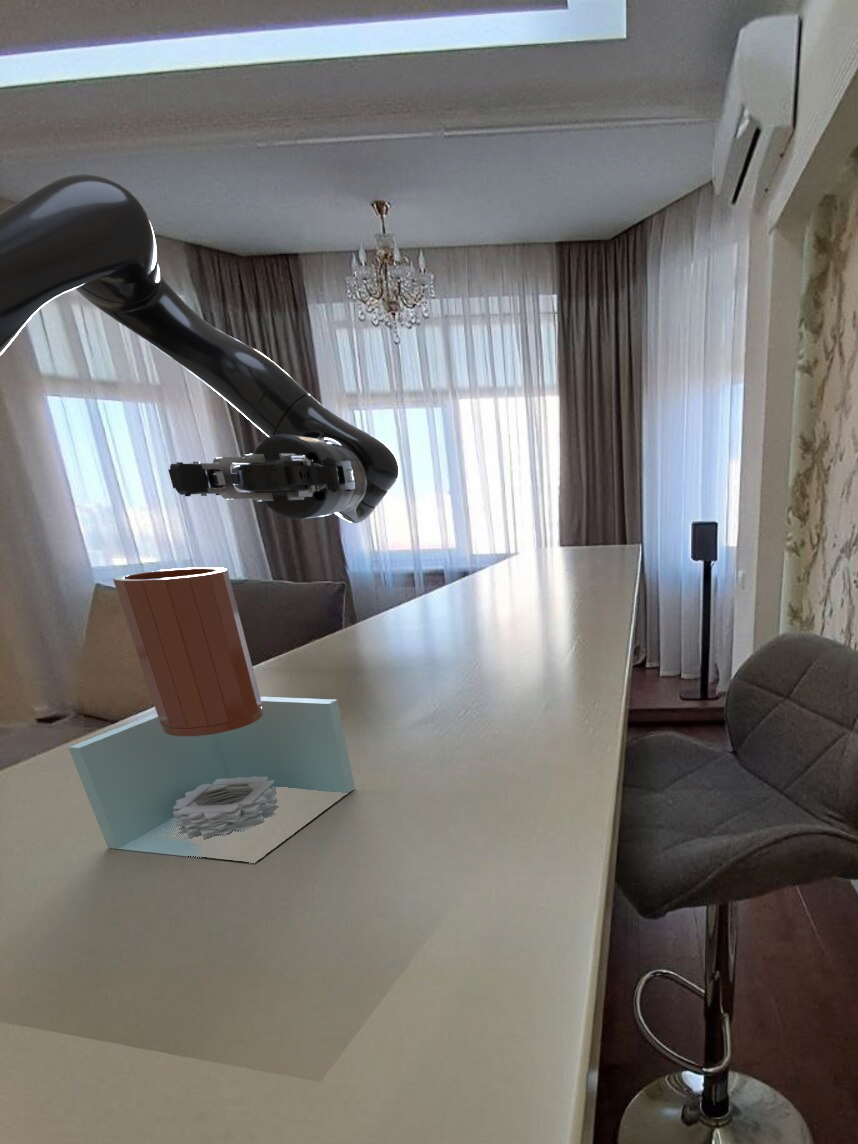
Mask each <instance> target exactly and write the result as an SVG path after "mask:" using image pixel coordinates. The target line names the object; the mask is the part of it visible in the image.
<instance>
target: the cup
mask: <svg viewBox="0 0 858 1144" xmlns="http://www.w3.org/2000/svg"><path fill="white" fill-rule="evenodd" d="M112 580H113V584H114V586H115V590H116V592H117V596H118V599H119V602H120V606H121V608H122V612H123V615H124V618H125V621H126V623H127V626H128V629H129V633H130V636H131V638H132V642H133V645H134V648H135V650H136V654H137V657H138V660H139V664H140V666H141V669H142V673H143V675H144V678H145V682H146V684H147V687H148V691H149V694H150V697H151V700H152V703H153V706H154V709H155V713H157V715H158V718H159V721H160V724H161V727H162V730H163V732H164V733H166V734H169V735H173V736H203V735H211V734H217V733H222V732H227V731H231V730H235V729H238V728H241V727H244V726H247V725H249V724H252V723H254V722H256V721H257V720H259V719H260V718H261V717H262V716H263V709H262V702H261V698H260V696H261V695H260V691H259V688H258V683H257V679H256V676H255V675H256V674H255V671H254V667H253V664H252V663H253V662H252V660H251V655H250V652H249V648H248V645H247V641H246V636H245V632H244V629H243V625H242V621H241V617H240V613H239V610H238V609H239V608H238V605H237V602H236V597H235V593H234V590H233V586H232V582H231V578H230V574H229V570H228V569H227V568H224V567H212V566H211V567H186V568H185V567H184V568H183V567H182V568H171V569H160V570H159V569H158V570H151V571H141V572H135V573H129V574H123V575H119V576H116V577H113V578H112Z"/></svg>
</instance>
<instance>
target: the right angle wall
mask: <svg viewBox="0 0 858 1144" xmlns="http://www.w3.org/2000/svg"><path fill="white" fill-rule="evenodd" d="M260 698H261V702H262V709H263V716H262V717H261V718H260V719H259V720H257V721H256V722H254V723H252V724H249V725H247V726H244V727H241V728H238V729H235V730H231V731H227V732H222V733H217V734H211V735H203V736H173V735H169V734H166V733H164V732H163V730H162V727H161V724H160V721H159V718H158V715H157V712H155V713H153V714H150V715H148V716H145V717H142V718H140V719H137V720H135V721H132V722H130V723H127V724H124V725H122V726H119V727H116V728H114V729H111V730H109V731H106V732H103V733H100V734H98V735H96V736H93V737H91V738H88V739H86V740H83V741H80V742H78V743H75V744H73V745H70V746H68V747H67V748H68V751H69V753H70V755H71V757H72V760H73V763H74V765H75V768H76V771H77V773H78V776H79V778H80V781H81V783H82V786H83V788H84V791H85V794H86V797H87V798H88V801H89V803H90V807H91V809H92V811H93V814H94V815H95V819H96V822H97V824H98V826H99V829H100V832H101V834H102V836H103V839H104V841H105V844H106V847H107V848H108V849H115V850H124V851H132V852H133V851H134V852H143V853H150V854H151V853H152V854H161V855H171V856H179V857H188V856H189V855H190V854H191V853H192V852H193V853H194V852H195V853H194V854H193V853H192V854H191V855H190V856H191V857H190V856H189V858H197V857H198V856H199V854H200V853H201V852H200V851H201V850H202V849H201V848H202V847H201V846H202V845H201V844H200V845H201V846H200V845H199V844H198V845H199V846H200V847H201V848H200V847H199V846H198V845H197V844H195V843H196V842H195V843H194V842H193V843H194V844H195V845H194V844H193V843H192V842H191V841H190V842H191V843H192V844H191V843H190V842H189V841H187V839H188V838H189V839H190V838H191V839H192V838H193V837H198V836H201V835H202V836H203V839H204V840H206V839H209V838H212V837H213V836H214V837H215V836H219V835H220V836H221V835H222V836H223V835H224V834H225V835H229V834H231V833H232V832H233V831H235V832H236V831H237V832H239V831H240V832H241V831H243V832H244V831H246V830H248V829H249V828H251V827H252V826H253V827H254V826H256V825H259V824H262V823H264V822H265V821H264V818H268V817H272V816H274V815H276V814H275V813H274V810H276V809H277V808H279V806H277V805H274V804H276V803H277V801H278V800H277V798H276V797H275V795H276V793H277V792H276V787H288V788H297V789H298V788H299V789H306V790H307V789H308V790H318V791H325V792H326V791H327V792H328V791H329V792H341V793H348V792H350V791H351V790H352V789H354V788H355V789H356V784H355V781H354V776H353V770H352V766H351V761H350V756H349V752H348V751H349V750H348V747H347V741H346V736H345V732H344V728H343V727H344V726H343V722H342V717H341V712H340V708H339V703H338V699H330V698H329V699H327V698H308V697H307V698H306V697H281V696H261V695H260ZM174 819H175V820H174ZM178 819H179V820H178ZM176 820H177V821H176ZM173 822H174V824H175V826H176V827H175V826H174V824H173ZM175 822H176V823H175ZM170 825H171V826H170ZM172 825H173V826H172ZM177 826H178V828H179V826H180V827H181V826H182V827H181V828H179V830H180V831H181V830H182V831H181V832H179V833H180V834H181V833H182V834H183V833H187V836H188V838H187V837H186V838H187V839H186V838H185V837H184V839H183V838H182V837H181V836H180V837H181V838H182V839H183V840H184V841H185V840H186V841H187V842H186V841H185V842H184V841H183V840H182V839H181V838H180V837H179V836H178V835H177V834H176V835H177V836H178V837H179V838H180V839H181V840H182V841H183V842H182V841H181V840H180V839H179V838H178V840H177V839H176V837H177V836H176V837H174V838H175V839H176V840H177V841H176V840H175V839H174V838H173V837H172V836H171V834H172V832H173V830H174V828H175V830H176V828H177ZM169 827H170V828H169ZM171 827H172V828H171ZM173 827H174V828H173ZM163 828H164V829H163ZM168 829H169V831H170V832H171V831H172V832H171V834H170V832H169V831H168ZM170 829H171V830H170ZM172 829H173V830H172ZM162 830H163V831H162ZM164 830H165V831H164ZM166 830H167V831H168V832H167V831H166ZM175 830H174V832H175ZM177 830H178V829H177ZM158 831H159V832H160V833H159V832H158ZM161 832H162V833H161ZM165 832H166V833H167V834H168V833H169V834H170V836H171V837H172V838H173V839H174V840H175V841H176V842H175V841H174V840H173V839H172V838H171V837H170V836H169V834H168V835H167V834H166V833H165ZM164 833H165V835H166V836H167V837H168V836H169V837H170V838H171V839H172V840H171V839H170V838H169V837H168V838H167V837H166V836H165V835H164ZM177 833H178V832H177ZM179 833H178V834H179ZM156 834H157V835H156ZM158 834H159V835H158ZM160 834H161V835H162V834H163V835H164V836H165V837H164V836H161V835H160ZM173 834H174V833H173ZM173 834H172V835H173ZM180 834H179V835H180ZM182 834H181V835H182ZM154 835H155V836H154ZM174 835H175V834H174ZM183 835H184V834H183ZM225 835H224V836H225ZM153 836H154V837H153ZM159 836H160V837H161V838H160V837H159ZM158 837H159V838H158ZM165 838H166V839H165ZM162 839H163V840H162ZM164 839H165V840H164ZM190 844H191V845H190ZM192 846H193V847H194V846H195V847H196V846H198V847H199V848H200V849H201V850H200V849H199V848H198V849H199V850H200V851H199V850H198V849H197V847H196V848H195V847H194V848H195V849H194V848H193V847H192ZM191 847H192V848H191ZM197 850H198V851H199V852H200V853H199V852H198V851H197ZM191 851H192V852H191ZM196 851H197V852H198V853H199V854H198V853H197V854H198V855H197V854H196ZM190 852H191V853H190ZM195 854H196V855H197V856H196V855H195ZM194 855H195V856H196V857H195V856H194ZM193 856H194V857H193ZM200 856H201V855H200ZM200 856H199V857H200ZM202 856H203V855H202ZM202 856H201V857H202ZM199 857H198V858H199ZM201 857H200V858H199V859H202V858H201ZM253 861H254V860H253ZM255 862H256V861H255ZM252 863H253V862H252ZM252 863H250V862H249V863H248V864H252ZM254 865H255V863H254Z"/></svg>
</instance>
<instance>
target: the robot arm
mask: <svg viewBox="0 0 858 1144" xmlns="http://www.w3.org/2000/svg"><path fill="white" fill-rule="evenodd" d="M158 257H159V256H158V250H157V243H156V237H155V233H154V230H153V226H152V223H151V220H150V218H149V216H148V213H147V212H146V210H145V208H144V206H143V204H142V203H141V201H139V199H138V198H137V197H136V196H135V195H134V194H133V193H132V192H131V191H129V190H128V189H126V187H124V186H123V185H121V184H119V183H118V182H115V181H114V180H111V179H110V178H106V177H103V176H100V175H94V174H72V175H67V176H63V177H61V178H57V179H56V180H54V181H51V182H50V183H48V184H46V185H44V186H42V187H40V188H38V189H37V190H36V191H34V192H32V193H31V194H29V195H27V196H26V197H23V198H22V199H21V200H19V201H18V202H16V203H14V204H13V205H11V206H9V207H8V208H6V209H5V210H3V211H1V212H0V356H1V355H3V353H4V352H5V351H6V350H7V348H8V347H9V346H10V345H11V344H12V342H13V341H14V340H15V339H16V338H17V336H18V335H19V333H20V332H21V331H22V329H23V328H24V327H25V326H26V324H27V323H28V322H29V321H30V320H31V319H32V317H33V316H34V315H35V314H36V313H37V312H38V311H39V310H40V309H41V308H42V307H44V306H45V305H46V304H48V303H49V302H51V301H52V300H54V299H56V298H57V297H59V296H61V295H63V294H66V293H68V292H70V291H73V290H76V291H77V292H78V293H79V294H80V295H81V296H82V297H84V299H86V300H87V301H88V302H90V303H91V304H92V305H93V306H95V307H96V308H98V309H99V310H101V311H102V312H103V313H105V314H106V315H108V316H109V317H111V318H112V319H114V321H117V322H118V323H119V324H121V325H122V326H124V327H125V328H127V329H128V330H130V331H132V332H133V333H134V334H136V335H137V336H139V337H140V338H141V339H144V340H145V341H147V342H148V343H149V344H151V345H152V346H154V347H155V348H156V349H158V350H159V351H160V352H162V353H164V354H165V355H166V356H168V357H169V358H171V360H174V362H176V363H177V364H179V366H182V367H183V368H184V369H186V370H187V371H188V372H190V373H191V374H193V375H194V376H195V377H196V378H198V379H199V380H201V381H202V382H203V383H204V384H205V385H207V386H208V387H210V388H211V389H212V390H213V391H214V392H216V393H217V394H218V395H219V396H220V397H222V398H223V399H224V400H225V401H227V402H228V403H229V404H230V405H231V406H232V407H233V408H235V409H236V410H237V411H238V412H239V413H241V415H243V416H244V417H245V418H246V419H247V420H249V421H250V422H251V423H252V424H253V425H254V426H255V427H256V428H257V429H259V430H260V431H261V432H262V433H263V434H265V436H267V437H266V438H265V439H263V440H262V441H260V442H259V444H258V445H257V446H256V447H255V449H254V451H253V453H249V454H244V455H243V456H221V457H220V456H219V457H215V458H213V460H212V462H207V463H206V462H204V463H203V462H202V463H201V462H200V461H192V463H184V462H182V461H179V462H176V463H171V464H169V469H168V474H169V478H170V482H171V485H172V489H175V491H176V492H177V494H179V495H184V497H192V495H200V496H201V497H208V495H215V496H221V497H222V498H223V499H225V500H245V499H246V500H248V499H249V500H250V499H251V500H253V501H255V502H263V504H265V506H266V507H267V508H268V509H270V510H271V511H272V512H274V513H276V515H279V516H281V517H284V518H286V519H291V520H306V519H313V518H321V517H326V516H327V517H328V516H331V515H333V514H335V515H336V516H338V517H339V518H341V519H343V520H345V521H347V522H349V523H352V524H359V523H362V522H364V521H365V520H367V519H368V518H369V517H370V515H372V513H373V512H374V511H375V509H376V507H377V506H378V505H379V504H380V503H381V501H382V500H383V499H384V498H385V496H386V495H387V494H388V492H389V491H390V489H391V488H393V486H394V484H395V483H396V481H398V479H399V477H400V471H401V470H400V465H399V461H398V458H397V457H396V455H395V453H394V452H393V451H392V449H391V448H390V446H388V445H387V444H386V443H384V442H383V441H382V440H380V439H378V438H376V437H375V436H374V435H371V434H369V433H368V432H366V431H364V430H362V429H360V428H358V427H356V426H354V425H353V424H352V423H350V422H347V421H346V420H344V419H343V418H341V417H339V416H338V415H336V414H334V413H333V412H332V411H331V410H329V409H328V408H327V407H325V406H324V405H323V404H322V403H320V402H319V401H318V400H317V399H315V398H314V397H313V396H312V395H311V394H310V393H309V392H308V391H307V390H306V389H304V388H303V387H302V386H301V385H300V384H299V383H298V382H297V381H296V380H295V379H294V378H293V377H291V376H290V375H289V374H288V373H287V372H286V371H285V370H284V369H282V368H281V367H280V366H279V365H278V364H276V362H274V361H273V360H271V359H270V358H269V357H267V356H266V355H265V354H264V353H262V352H261V351H258V350H257V349H255V348H253V347H251V346H250V345H248V344H246V343H245V342H242V341H240V340H238V339H236V338H234V337H232V336H230V335H228V334H226V333H225V332H223V331H221V330H219V329H218V328H216V327H214V325H212V324H210V323H209V322H208V321H206V320H205V319H203V318H202V317H201V316H200V315H199V314H197V312H196V311H194V310H193V309H192V308H191V307H190V306H189V305H188V304H187V303H186V302H185V301H184V300H183V299H182V298H181V297H180V295H178V294H177V292H175V290H174V289H173V287H171V285H170V284H169V283H168V282H167V281H166V280H165V279H164V278H163V276H162V275H161V274H160V273H161V272H160V266H159V258H158ZM326 440H331V441H334V442H336V443H331V442H326ZM232 465H233V467H232V469H231V466H232ZM234 465H235V466H234ZM239 491H240V492H239Z"/></svg>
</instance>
